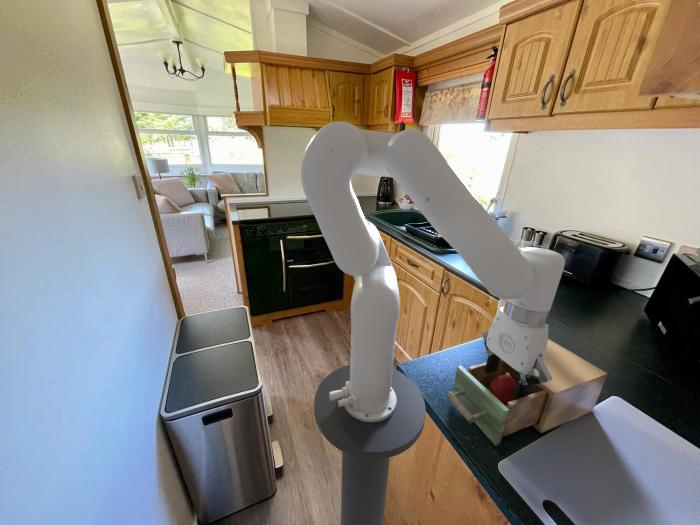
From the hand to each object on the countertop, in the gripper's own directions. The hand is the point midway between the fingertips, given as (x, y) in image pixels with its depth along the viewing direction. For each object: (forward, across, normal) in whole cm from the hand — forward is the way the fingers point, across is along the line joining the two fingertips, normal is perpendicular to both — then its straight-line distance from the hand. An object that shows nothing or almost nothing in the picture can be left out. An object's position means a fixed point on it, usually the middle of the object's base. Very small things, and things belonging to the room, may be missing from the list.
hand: (504, 382), depth 62 cm
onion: (+7, 0, 0) cm, 7 cm away
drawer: (+8, 0, -2) cm, 8 cm away
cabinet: (+8, 0, +13) cm, 16 cm away
